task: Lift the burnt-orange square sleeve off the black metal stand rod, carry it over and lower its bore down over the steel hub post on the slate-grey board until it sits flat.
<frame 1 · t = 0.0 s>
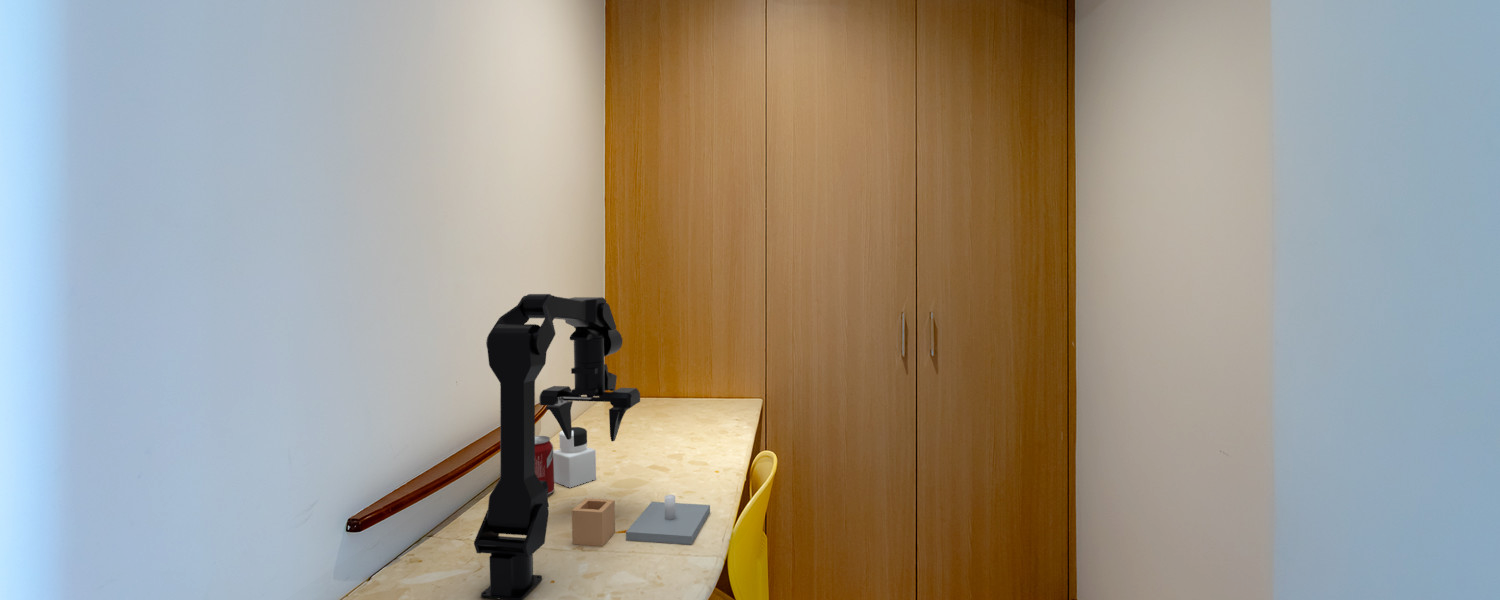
hand: (591, 439, 117), 15 cm above the table, fingers open, 9 cm apart
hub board: (670, 525, 111), on the table
orange sleeve: (594, 537, 106), on the table
medicine bottle: (574, 481, 136), on the table
soda can: (537, 495, 127), on the table
stand rod: (594, 537, 106), on the table
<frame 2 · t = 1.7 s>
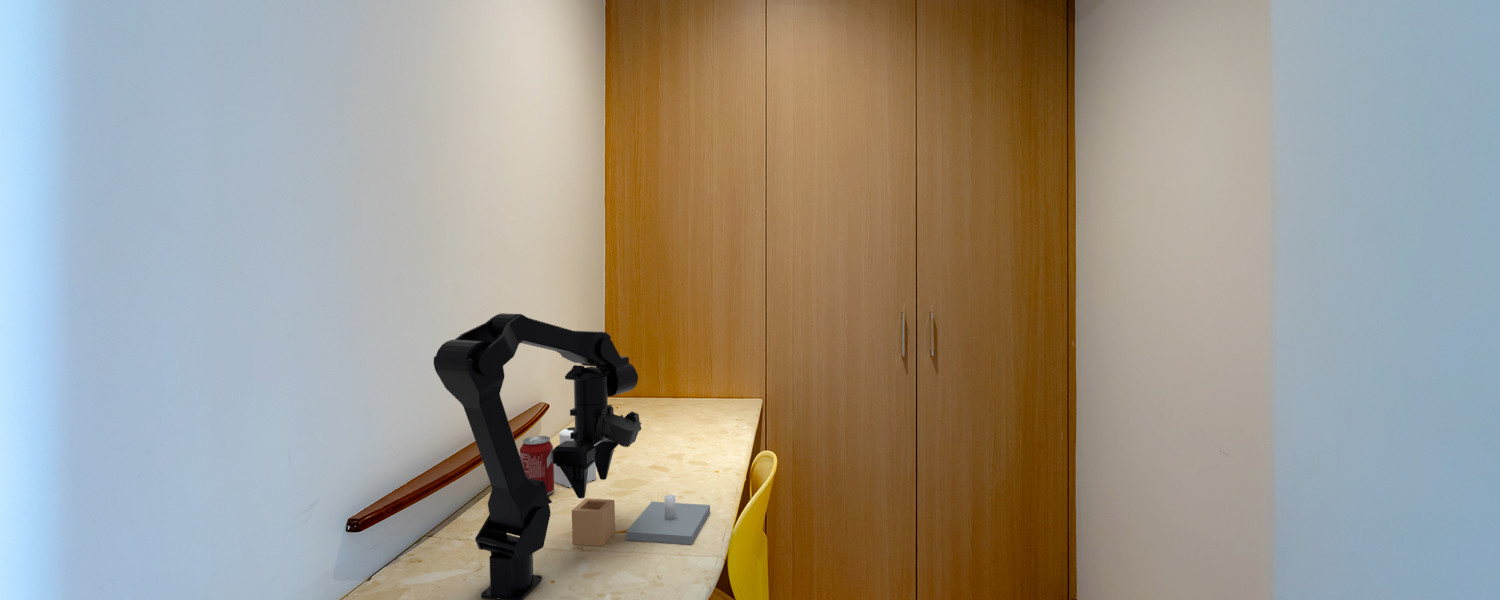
hand: (592, 488, 106), 9 cm above the table, fingers open, 9 cm apart
nothing on the table moved.
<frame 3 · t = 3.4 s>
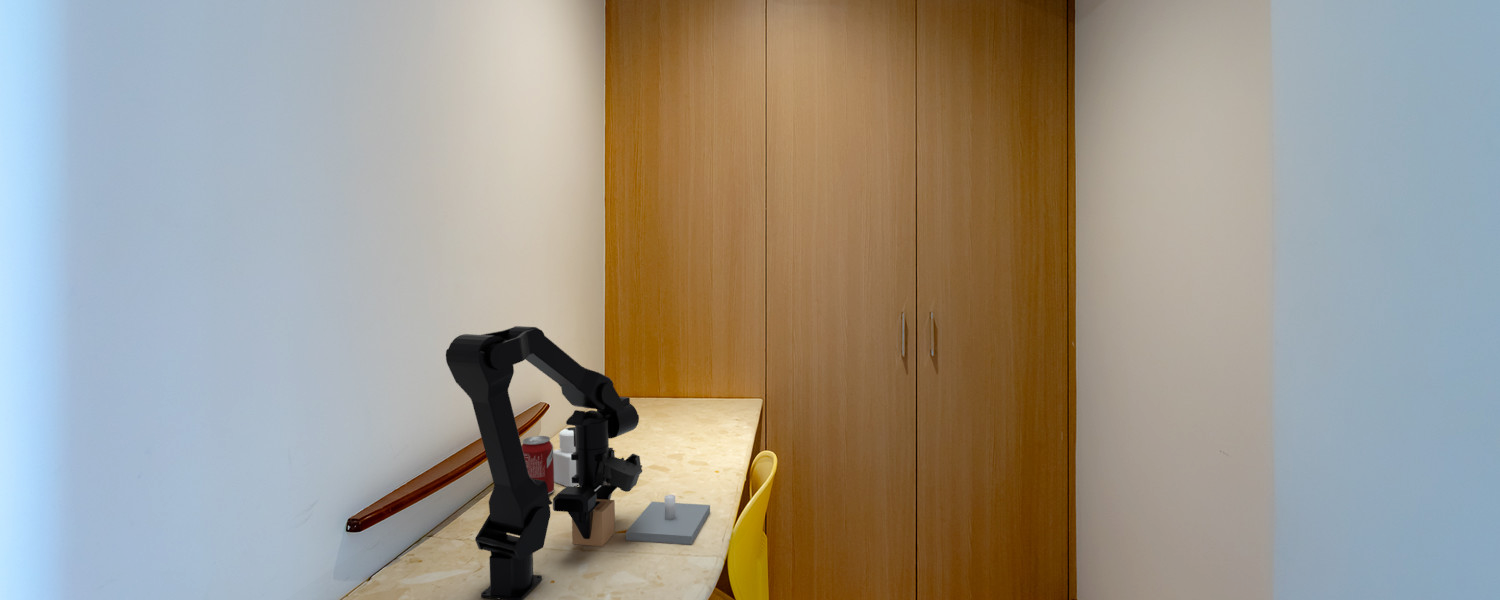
hand: (594, 531, 106), 1 cm above the table, fingers closed on orange sleeve, 6 cm apart
orange sleeve: (594, 537, 106), on the table, touching gripper
everything else where it was.
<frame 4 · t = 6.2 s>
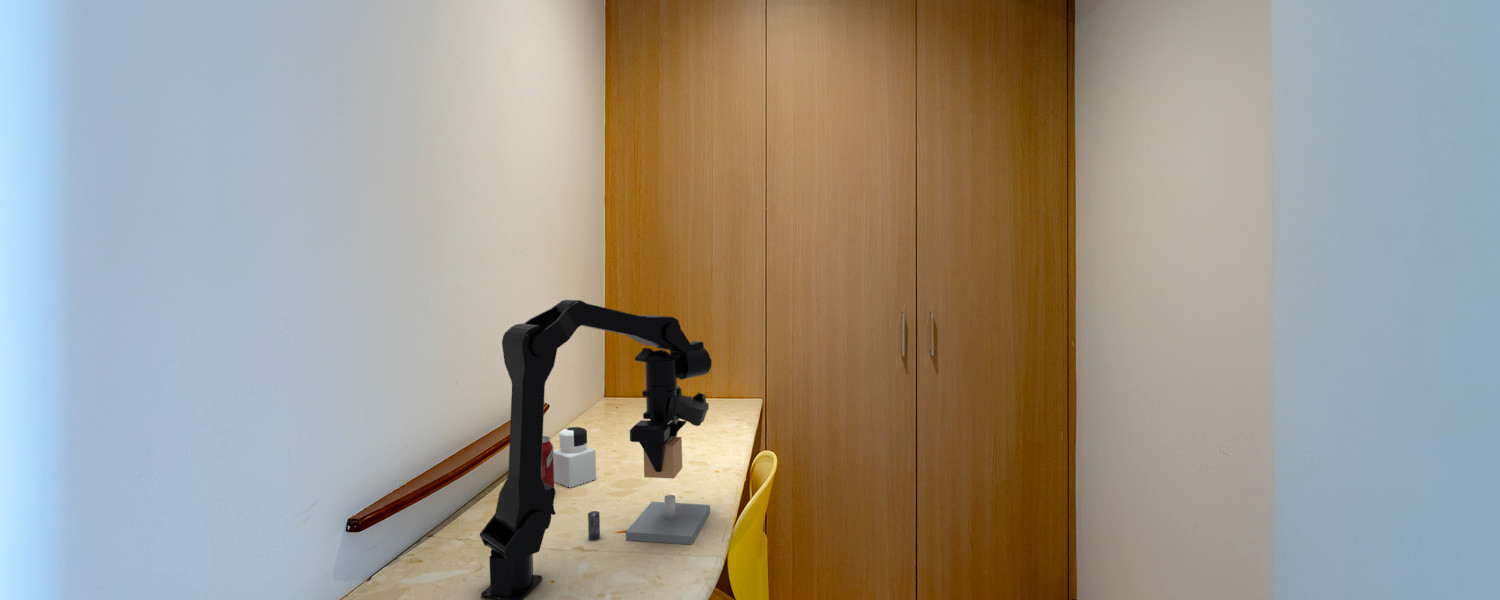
hand: (663, 466, 110), 11 cm above the table, fingers closed on orange sleeve, 6 cm apart
orange sleeve: (663, 472, 110), point 10 cm above the table, touching gripper
everything else where it was.
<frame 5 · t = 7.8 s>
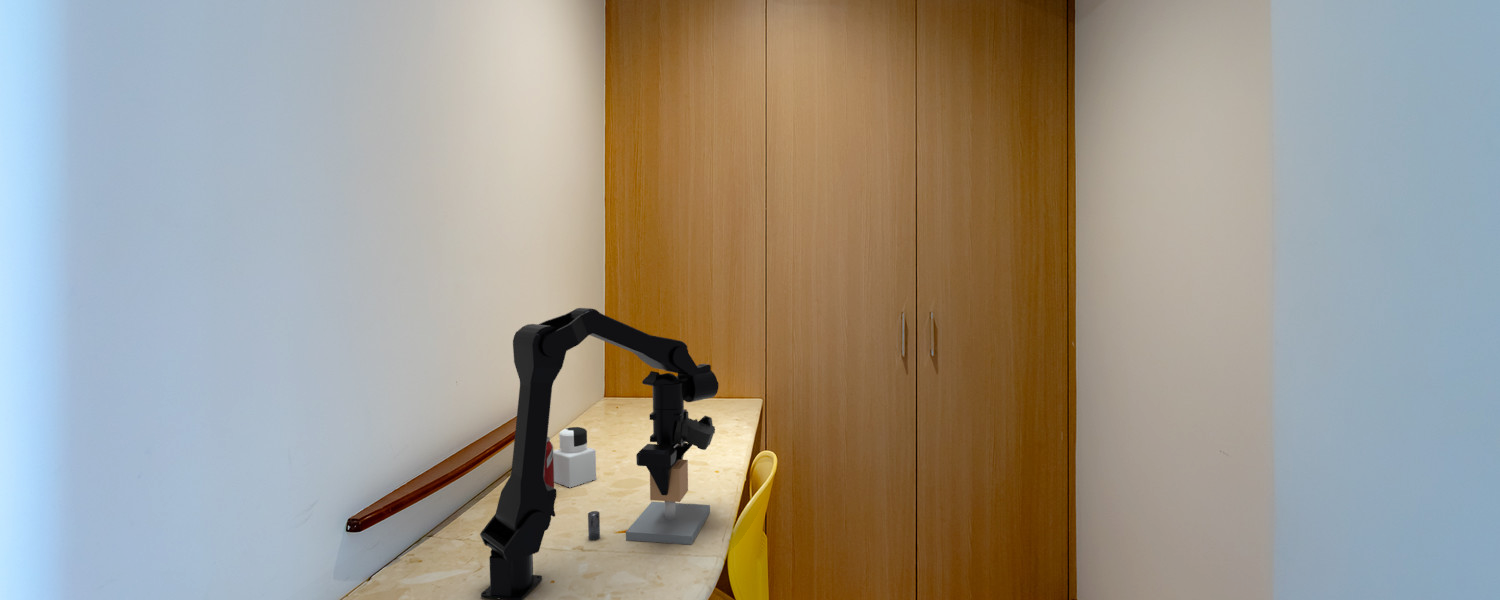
hand: (669, 489, 111), 7 cm above the table, fingers closed on orange sleeve, 6 cm apart
orange sleeve: (669, 495, 111), point 6 cm above the table, touching gripper
everything else where it was.
when the fingers open (4 cm above the table, at t = 9.3 s): orange sleeve drops 1 cm, resting on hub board.
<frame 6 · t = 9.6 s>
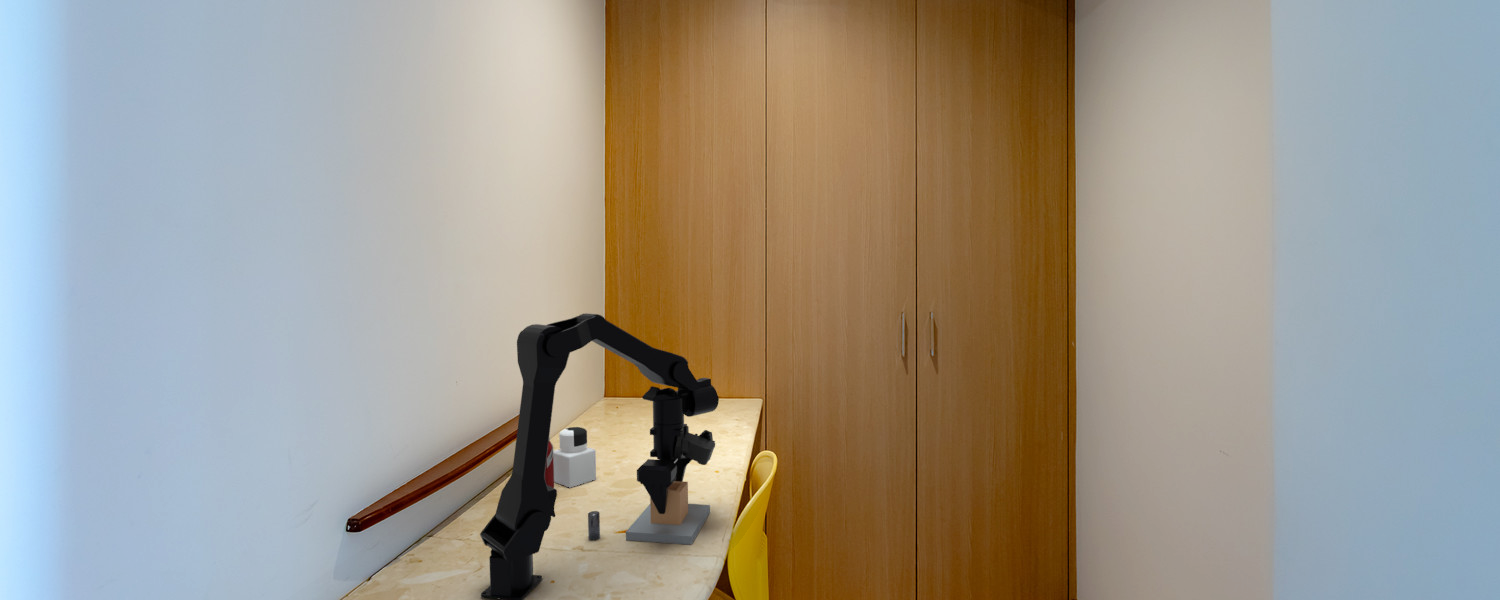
hand: (669, 503, 111), 4 cm above the table, fingers open, 9 cm apart
orange sleeve: (669, 517, 111), point 1 cm above the table, touching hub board
everything else where it was.
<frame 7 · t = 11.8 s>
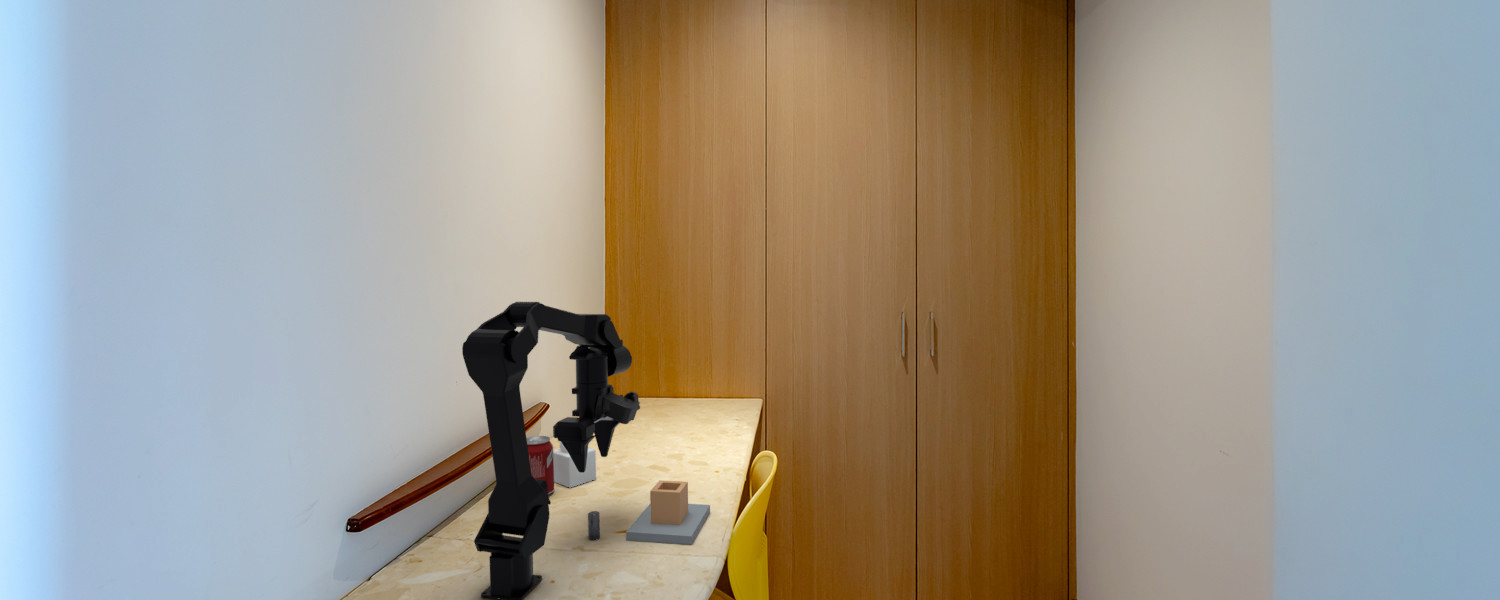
hand: (593, 464, 111), 12 cm above the table, fingers open, 9 cm apart
nothing on the table moved.
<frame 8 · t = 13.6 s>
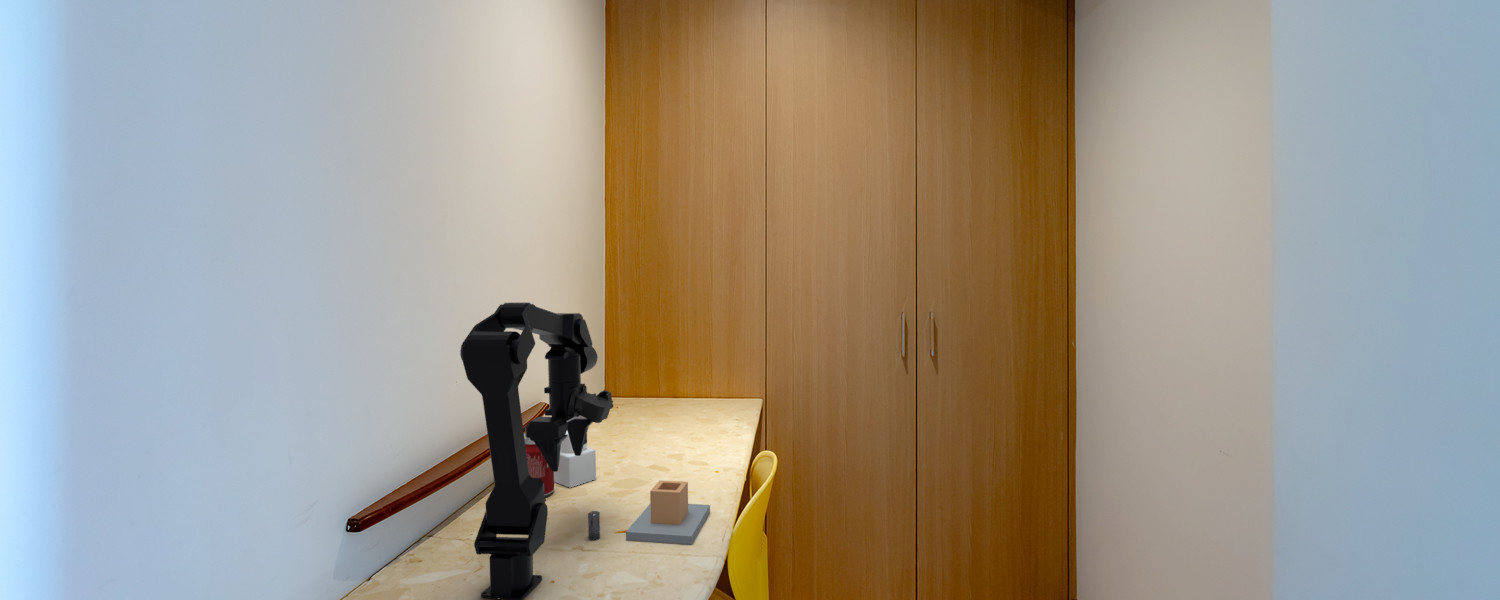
hand: (566, 463, 111), 12 cm above the table, fingers open, 9 cm apart
nothing on the table moved.
at the end: orange sleeve 0.0 cm off-centre on the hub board, point 1.5 cm above the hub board's base; orange sleeve tilted 0°; the gripper is holding nothing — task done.
